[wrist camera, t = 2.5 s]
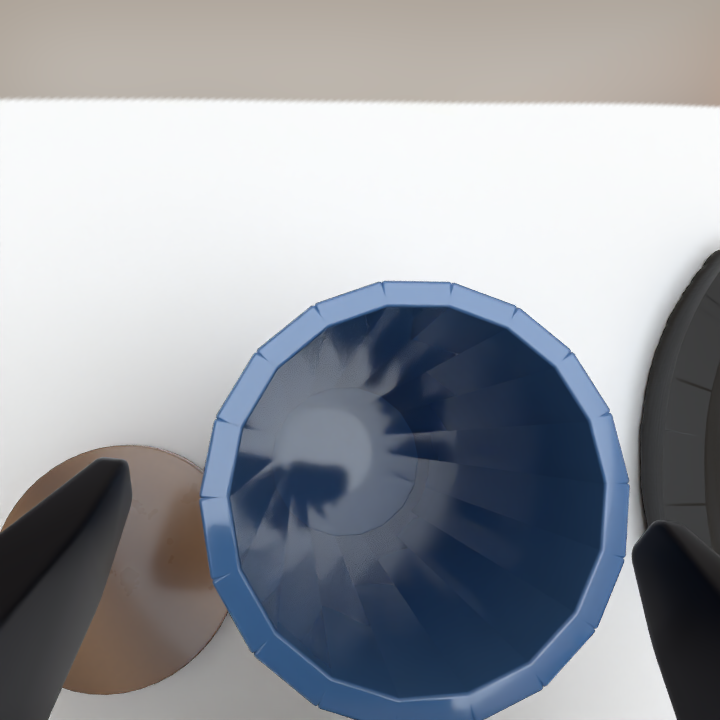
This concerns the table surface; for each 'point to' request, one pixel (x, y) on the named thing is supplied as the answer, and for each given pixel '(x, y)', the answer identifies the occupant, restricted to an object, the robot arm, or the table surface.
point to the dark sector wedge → (686, 414)
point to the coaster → (144, 575)
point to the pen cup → (414, 504)
